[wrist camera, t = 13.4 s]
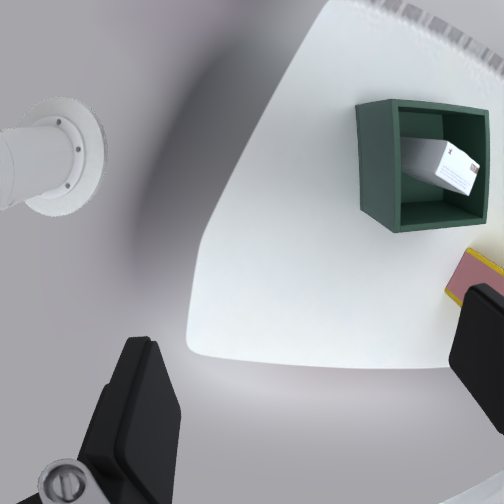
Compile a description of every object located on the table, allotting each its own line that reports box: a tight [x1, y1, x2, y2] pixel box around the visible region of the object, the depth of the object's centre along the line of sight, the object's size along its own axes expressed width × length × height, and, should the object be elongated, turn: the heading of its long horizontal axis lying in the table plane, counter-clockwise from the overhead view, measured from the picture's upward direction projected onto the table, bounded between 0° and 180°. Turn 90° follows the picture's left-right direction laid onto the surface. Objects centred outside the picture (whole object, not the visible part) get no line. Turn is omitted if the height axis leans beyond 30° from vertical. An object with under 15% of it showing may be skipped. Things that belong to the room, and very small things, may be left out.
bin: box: [356, 99, 490, 233], centre depth 36 cm, size 15×15×11 cm
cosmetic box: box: [400, 137, 479, 196], centre depth 35 cm, size 6×4×12 cm
